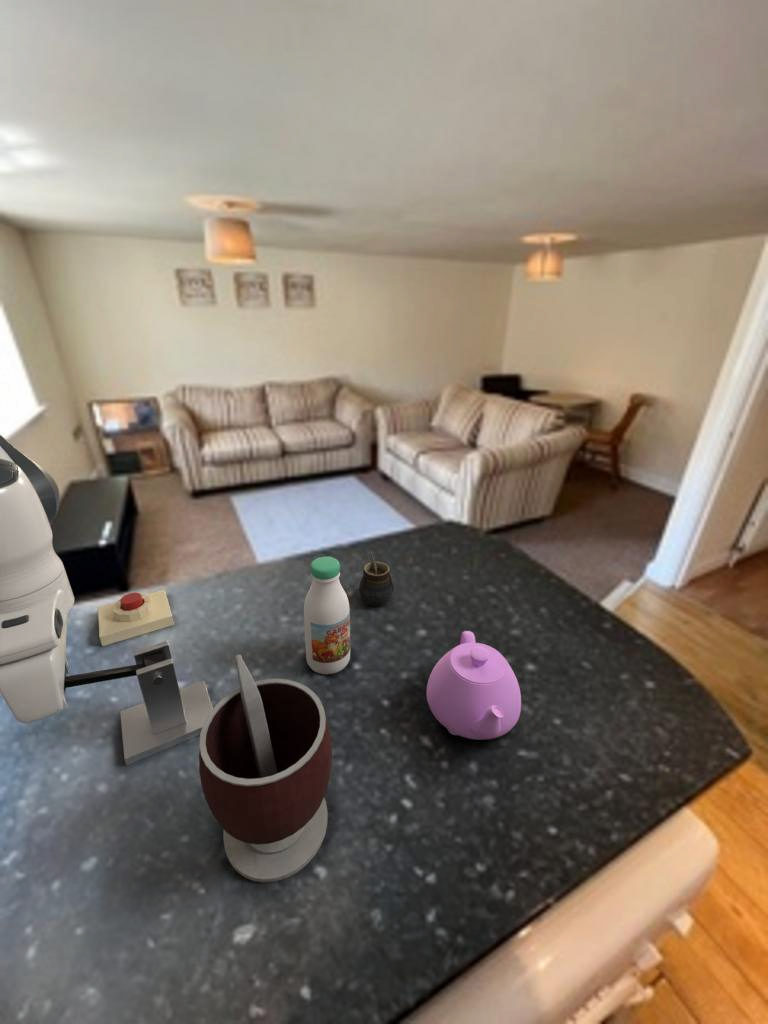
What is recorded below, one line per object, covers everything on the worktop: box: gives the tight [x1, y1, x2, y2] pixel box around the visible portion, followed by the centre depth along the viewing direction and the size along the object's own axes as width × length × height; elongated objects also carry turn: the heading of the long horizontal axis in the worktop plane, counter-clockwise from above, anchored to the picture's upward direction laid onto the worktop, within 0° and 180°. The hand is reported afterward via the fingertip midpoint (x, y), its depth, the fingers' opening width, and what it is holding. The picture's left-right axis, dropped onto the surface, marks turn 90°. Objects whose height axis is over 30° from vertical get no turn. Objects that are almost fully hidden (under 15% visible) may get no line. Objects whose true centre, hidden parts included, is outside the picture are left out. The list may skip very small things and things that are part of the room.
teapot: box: [426, 630, 522, 741], centre depth 66 cm, size 20×14×12 cm
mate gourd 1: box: [198, 654, 333, 883], centre depth 51 cm, size 16×14×20 cm
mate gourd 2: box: [358, 550, 395, 607], centre depth 93 cm, size 7×8×10 cm
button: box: [119, 591, 143, 611], centre depth 85 cm, size 4×4×2 cm
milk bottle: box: [303, 556, 351, 675], centre depth 75 cm, size 8×8×20 cm
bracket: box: [119, 640, 214, 766], centre depth 64 cm, size 12×9×13 cm
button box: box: [97, 589, 175, 647], centre depth 86 cm, size 12×10×4 cm
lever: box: [64, 653, 167, 695], centre depth 59 cm, size 13×5×2 cm, turn 121°
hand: (60, 690), depth 56 cm, fingers closed on lever, 5 cm apart
